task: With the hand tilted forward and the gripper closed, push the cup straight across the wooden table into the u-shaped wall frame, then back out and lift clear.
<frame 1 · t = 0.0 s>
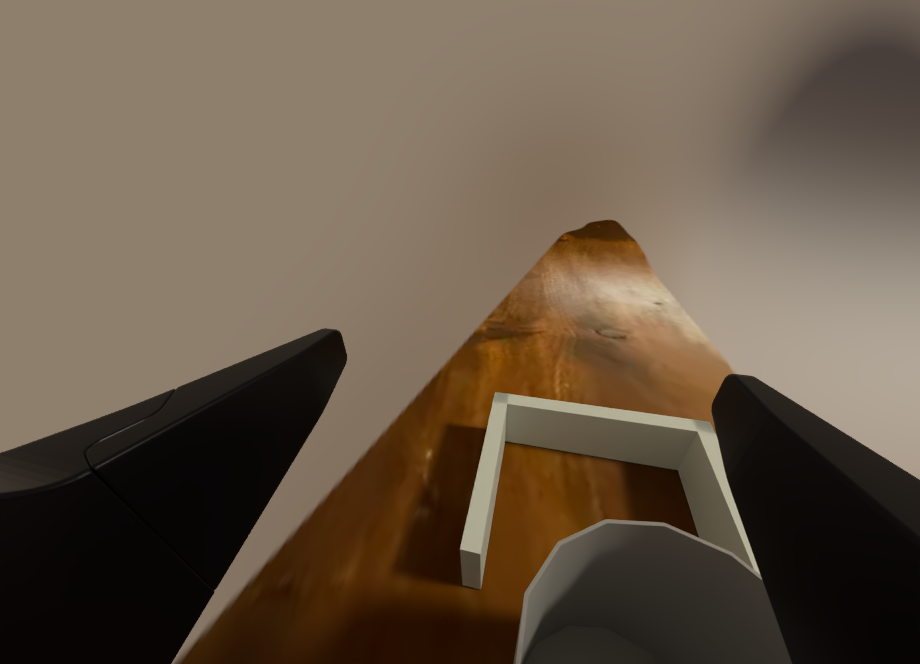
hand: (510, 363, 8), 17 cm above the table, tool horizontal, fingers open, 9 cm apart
u-shaped wall frame: (591, 522, 21), on the table
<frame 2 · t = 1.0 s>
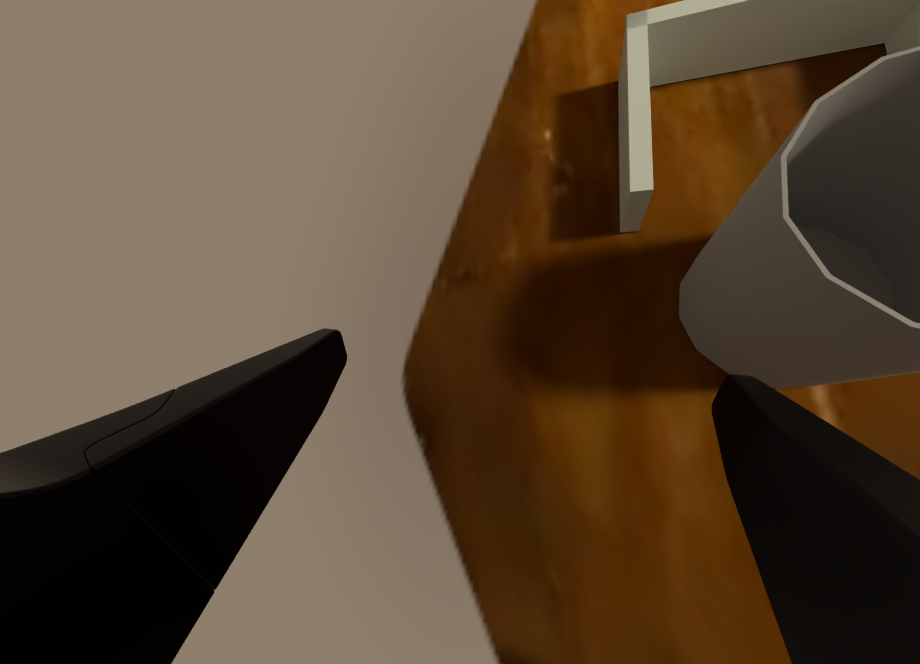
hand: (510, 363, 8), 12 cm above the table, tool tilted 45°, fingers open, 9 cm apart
u-shaped wall frame: (756, 141, 19), on the table
cup: (771, 305, 18), on the table
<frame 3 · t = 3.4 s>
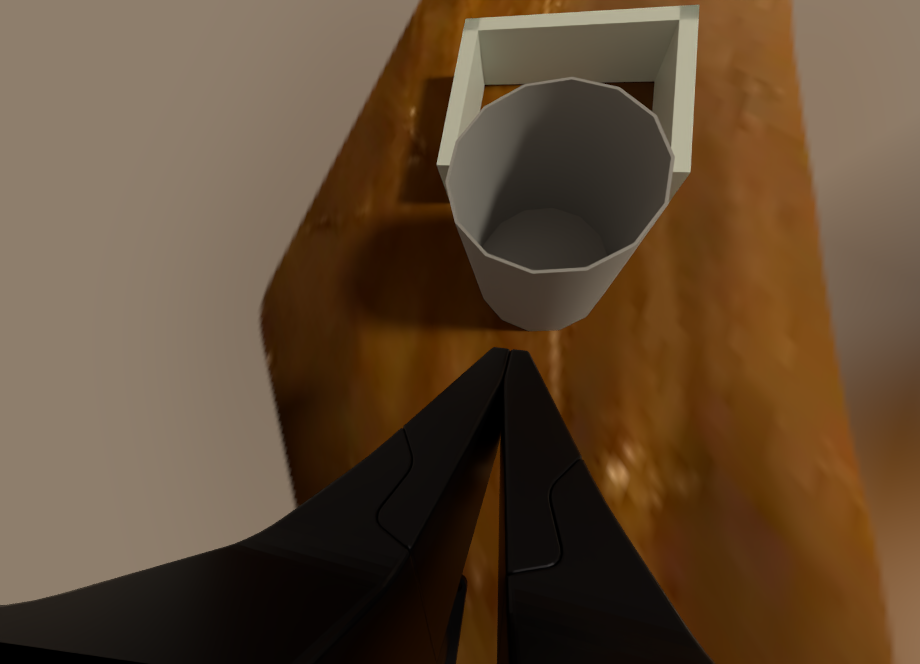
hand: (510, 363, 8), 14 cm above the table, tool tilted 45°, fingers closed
u-shaped wall frame: (557, 142, 24), on the table
cup: (540, 270, 23), on the table
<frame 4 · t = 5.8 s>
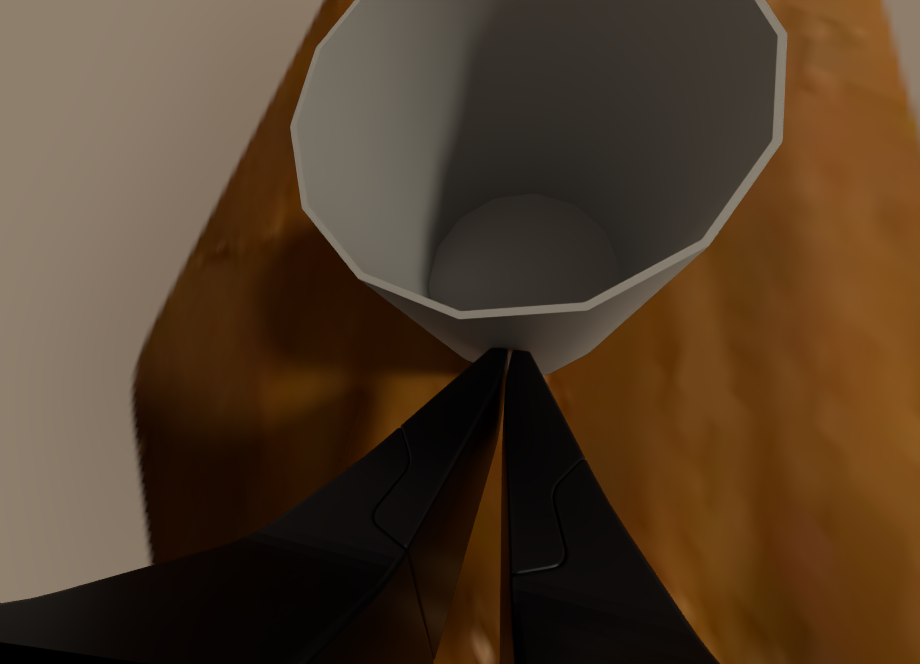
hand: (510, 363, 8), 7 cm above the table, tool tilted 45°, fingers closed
cup: (520, 285, 16), on the table, touching gripper
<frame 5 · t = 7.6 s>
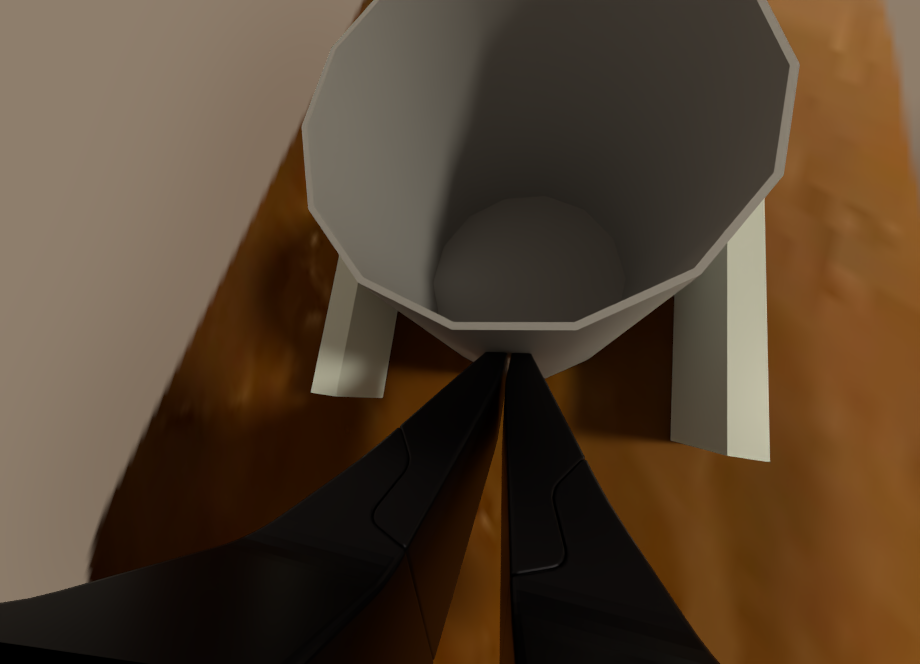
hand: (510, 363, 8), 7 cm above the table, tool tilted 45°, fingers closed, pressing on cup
u-shaped wall frame: (525, 303, 15), on the table
cup: (524, 287, 16), on the table, touching u-shaped wall frame, gripper
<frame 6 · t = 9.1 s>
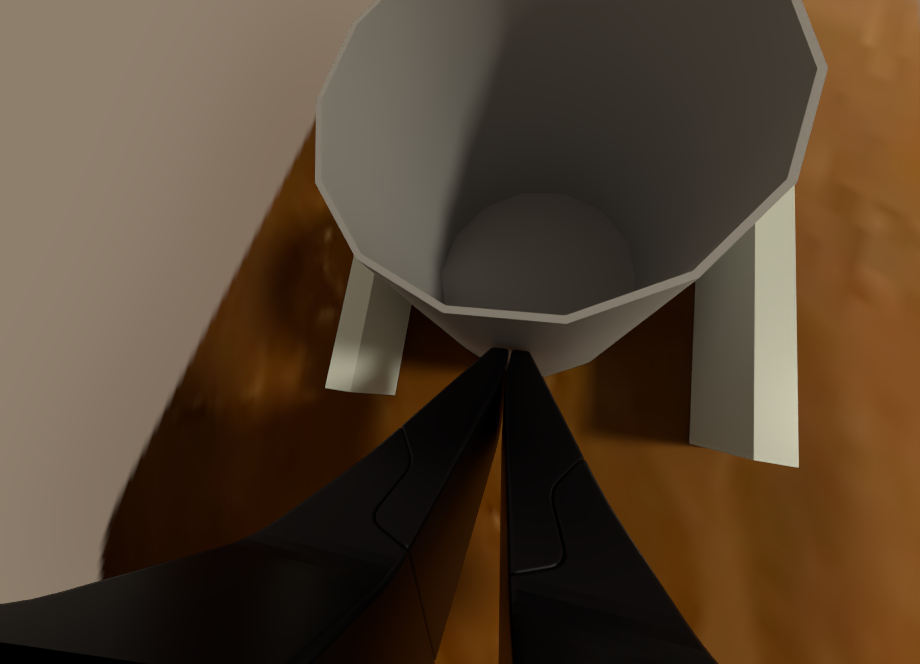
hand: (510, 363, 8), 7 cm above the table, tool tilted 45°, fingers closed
u-shaped wall frame: (541, 301, 15), on the table
cup: (533, 284, 16), on the table
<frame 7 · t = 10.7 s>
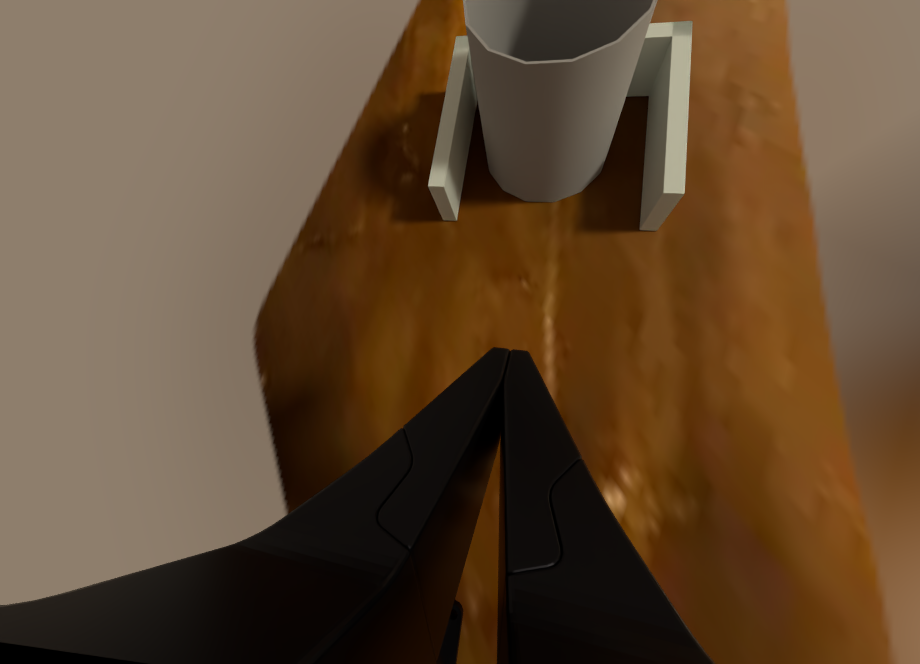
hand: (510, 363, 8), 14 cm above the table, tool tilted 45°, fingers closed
u-shaped wall frame: (551, 159, 24), on the table
cup: (545, 150, 25), on the table
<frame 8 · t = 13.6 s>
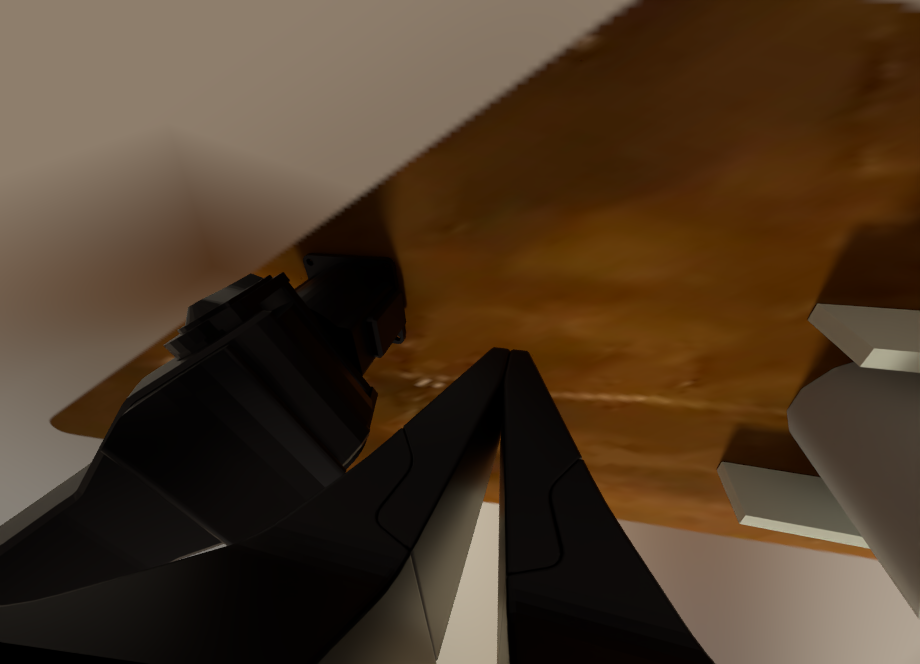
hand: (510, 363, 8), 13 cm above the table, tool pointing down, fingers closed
u-shaped wall frame: (855, 413, 21), on the table
cup: (874, 407, 20), on the table
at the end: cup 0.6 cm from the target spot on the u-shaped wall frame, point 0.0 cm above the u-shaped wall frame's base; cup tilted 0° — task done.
